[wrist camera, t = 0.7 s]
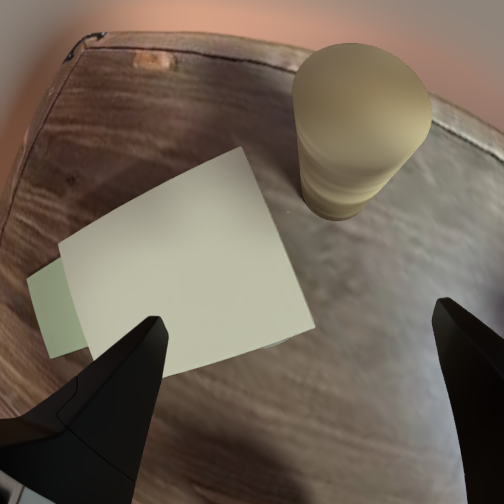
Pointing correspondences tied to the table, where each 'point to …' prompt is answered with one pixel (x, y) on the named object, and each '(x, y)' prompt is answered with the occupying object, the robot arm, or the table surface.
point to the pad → (56, 310)
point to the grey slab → (189, 268)
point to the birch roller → (355, 125)
